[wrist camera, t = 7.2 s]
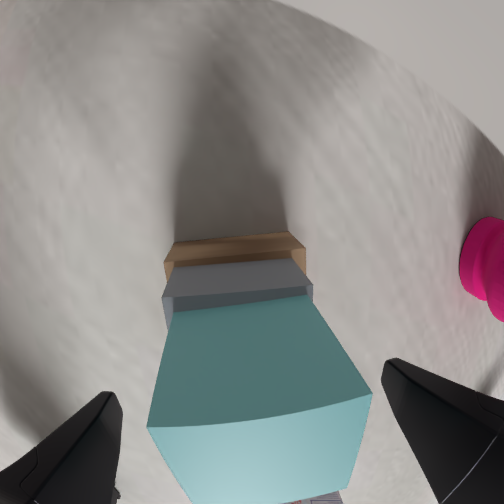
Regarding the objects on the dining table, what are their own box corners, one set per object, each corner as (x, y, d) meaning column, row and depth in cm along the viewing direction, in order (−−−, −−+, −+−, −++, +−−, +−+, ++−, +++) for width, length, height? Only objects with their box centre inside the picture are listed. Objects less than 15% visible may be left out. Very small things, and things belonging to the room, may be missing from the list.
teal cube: (199, 406, 11) (198, 511, 6) (173, 312, 10) (146, 427, 5) (307, 390, 11) (347, 488, 6) (307, 294, 10) (372, 393, 5)
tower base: (191, 338, 17) (187, 374, 14) (174, 241, 15) (163, 262, 12) (290, 327, 18) (305, 361, 14) (287, 230, 16) (305, 247, 13)
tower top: (189, 363, 14) (185, 405, 11) (173, 267, 12) (161, 297, 9) (291, 354, 14) (306, 393, 11) (291, 257, 13) (313, 284, 10)
